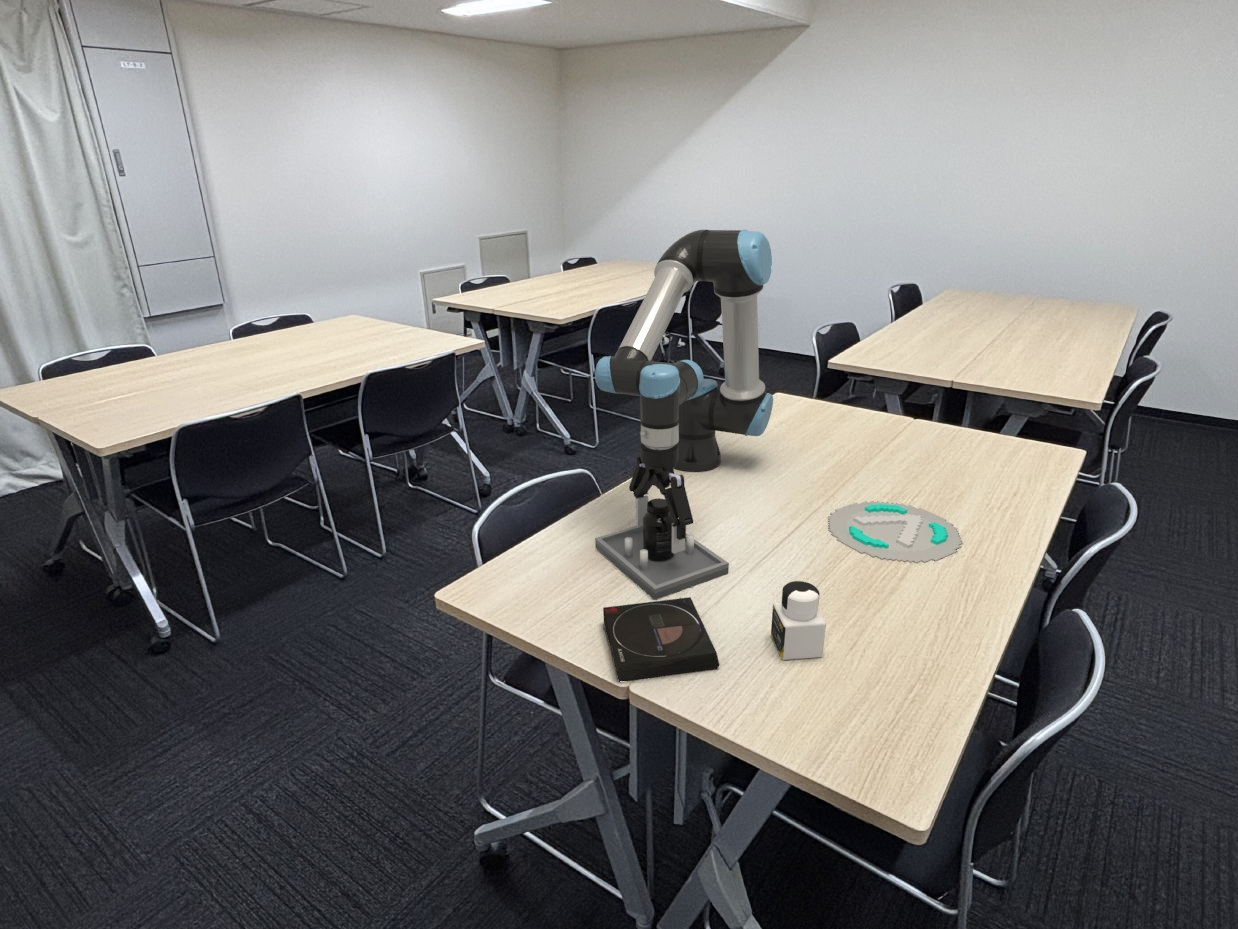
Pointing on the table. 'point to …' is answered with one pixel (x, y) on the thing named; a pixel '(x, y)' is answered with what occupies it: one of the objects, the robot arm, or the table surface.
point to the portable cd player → (658, 639)
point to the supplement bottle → (658, 530)
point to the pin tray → (661, 563)
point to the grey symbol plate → (894, 532)
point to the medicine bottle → (798, 622)
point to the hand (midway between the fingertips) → (659, 537)
